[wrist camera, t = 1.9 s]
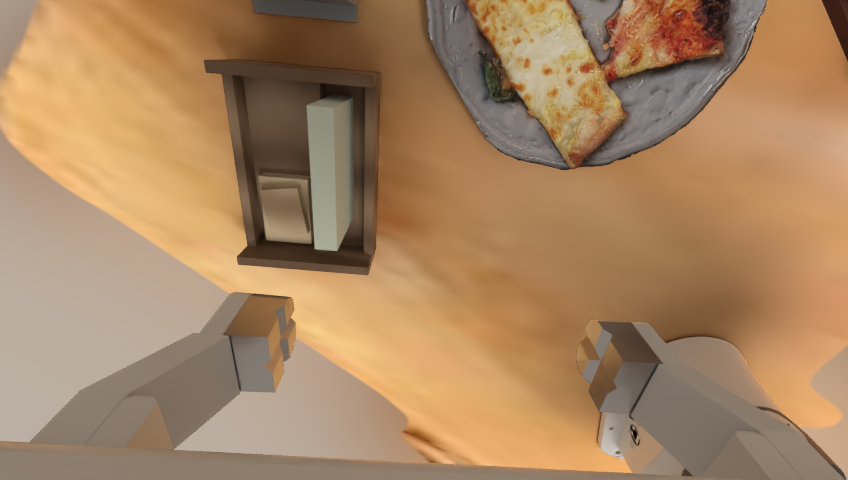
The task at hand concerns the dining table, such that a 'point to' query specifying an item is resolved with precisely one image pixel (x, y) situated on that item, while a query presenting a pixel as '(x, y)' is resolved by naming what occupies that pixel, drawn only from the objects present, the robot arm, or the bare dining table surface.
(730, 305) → the dining table surface
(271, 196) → the offcut upper
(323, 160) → the board
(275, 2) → the stand
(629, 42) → the food plate
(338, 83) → the rack
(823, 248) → the dining table surface
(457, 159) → the dining table surface
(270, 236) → the offcut lower
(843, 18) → the decorative book
